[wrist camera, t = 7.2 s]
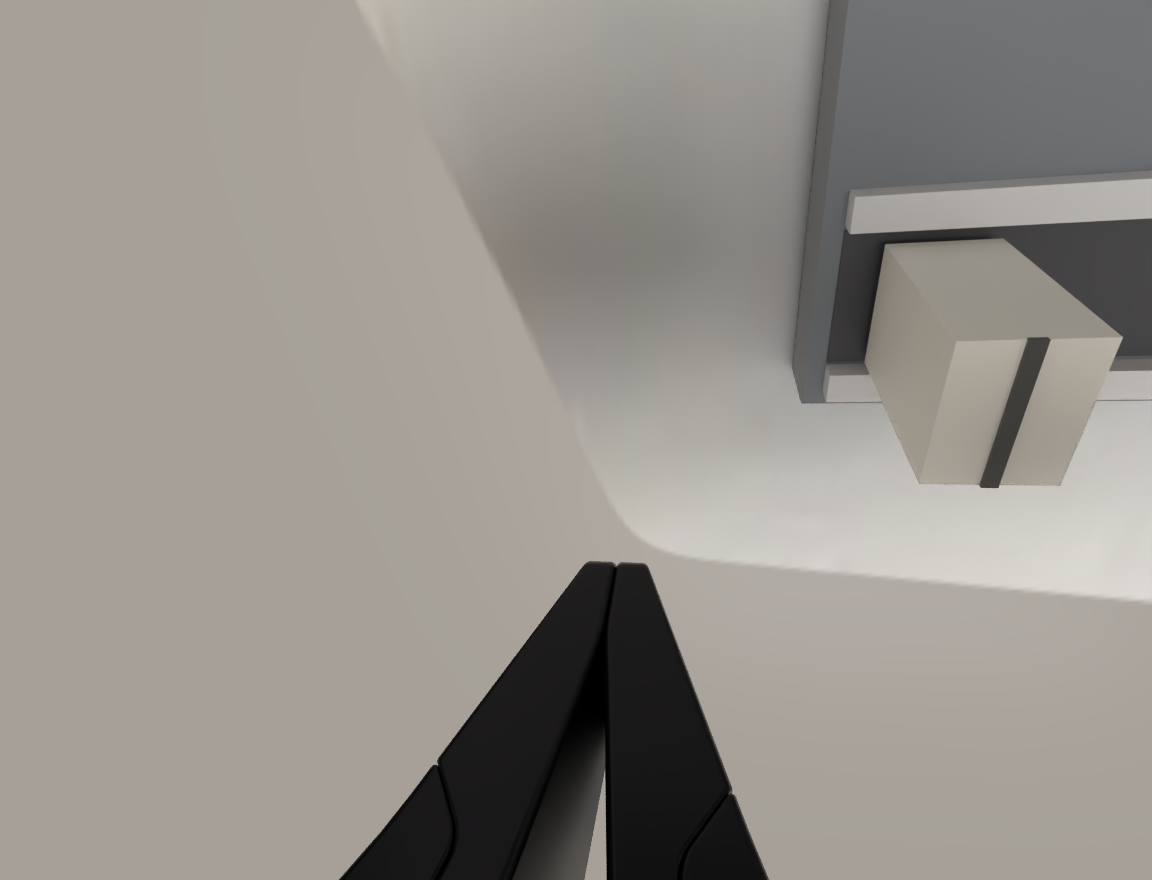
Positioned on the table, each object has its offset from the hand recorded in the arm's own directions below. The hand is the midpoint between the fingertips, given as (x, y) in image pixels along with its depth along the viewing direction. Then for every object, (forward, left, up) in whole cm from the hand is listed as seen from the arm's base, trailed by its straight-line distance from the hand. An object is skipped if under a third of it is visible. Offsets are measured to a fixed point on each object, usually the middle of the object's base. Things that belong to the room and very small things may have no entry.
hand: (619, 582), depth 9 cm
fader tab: (-6, 0, -9) cm, 11 cm away
